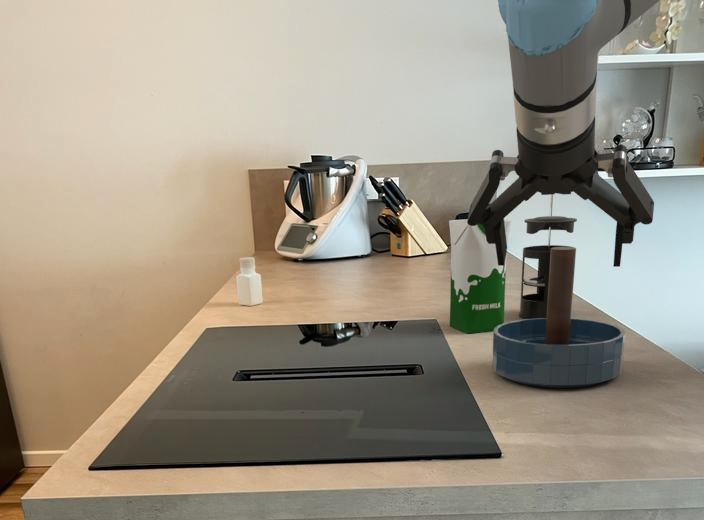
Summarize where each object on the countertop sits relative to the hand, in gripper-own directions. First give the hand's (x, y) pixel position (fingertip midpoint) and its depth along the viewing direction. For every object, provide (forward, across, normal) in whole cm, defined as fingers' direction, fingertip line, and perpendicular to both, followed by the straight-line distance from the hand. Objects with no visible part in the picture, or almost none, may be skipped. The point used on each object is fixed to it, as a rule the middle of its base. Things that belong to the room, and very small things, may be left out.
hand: (558, 257), depth 96 cm
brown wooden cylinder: (+16, 0, -6) cm, 18 cm away
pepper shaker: (+47, -67, +23) cm, 85 cm away
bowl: (+17, 0, -6) cm, 18 cm away
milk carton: (+36, -16, +12) cm, 42 cm away
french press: (+45, -6, +21) cm, 50 cm away
